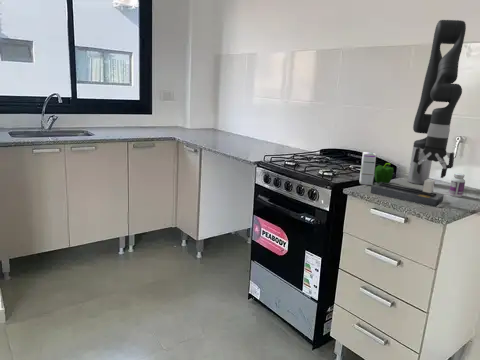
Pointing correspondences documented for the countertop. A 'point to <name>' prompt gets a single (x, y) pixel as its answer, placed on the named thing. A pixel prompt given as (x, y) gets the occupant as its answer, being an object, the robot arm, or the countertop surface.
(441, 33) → the robot arm
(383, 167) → the bell pepper
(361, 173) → the syrup box
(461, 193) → the pill bottle
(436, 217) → the countertop surface
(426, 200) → the slider panel
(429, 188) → the fader knob
